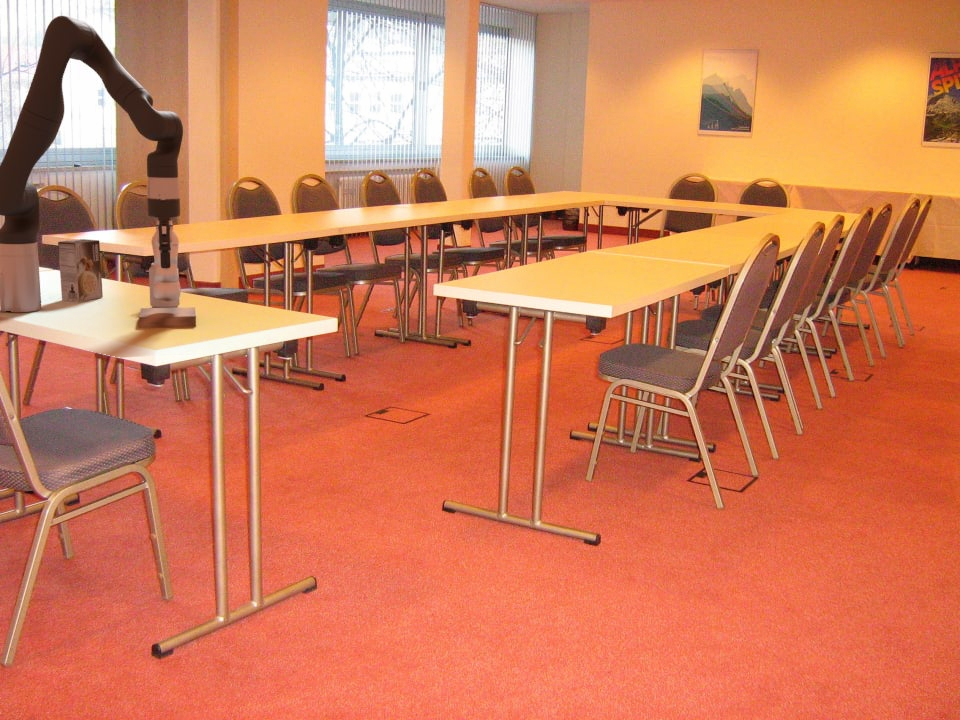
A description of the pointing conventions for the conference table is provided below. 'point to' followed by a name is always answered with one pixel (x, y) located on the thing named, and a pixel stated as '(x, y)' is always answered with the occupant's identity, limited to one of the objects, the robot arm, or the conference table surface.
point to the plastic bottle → (166, 271)
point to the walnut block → (167, 317)
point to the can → (153, 300)
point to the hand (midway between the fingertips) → (165, 266)
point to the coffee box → (80, 270)
